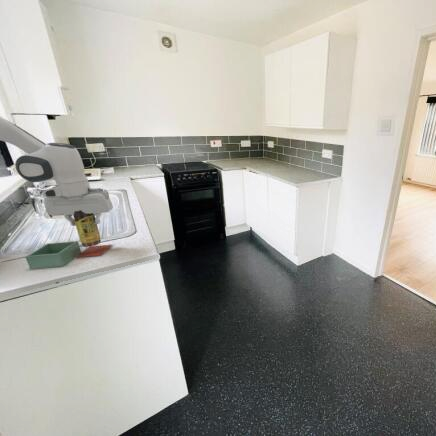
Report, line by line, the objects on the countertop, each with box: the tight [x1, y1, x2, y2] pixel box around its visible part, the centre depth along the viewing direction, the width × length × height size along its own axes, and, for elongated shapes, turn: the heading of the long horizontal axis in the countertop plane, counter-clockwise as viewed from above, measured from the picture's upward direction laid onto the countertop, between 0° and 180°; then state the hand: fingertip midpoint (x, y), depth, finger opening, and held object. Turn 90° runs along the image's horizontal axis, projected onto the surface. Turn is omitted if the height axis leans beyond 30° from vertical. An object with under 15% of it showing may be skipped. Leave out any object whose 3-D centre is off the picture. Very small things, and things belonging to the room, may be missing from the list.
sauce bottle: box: [72, 210, 102, 248], centre depth 93 cm, size 7×6×20 cm
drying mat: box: [76, 244, 112, 259], centre depth 98 cm, size 8×9×1 cm
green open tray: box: [24, 240, 82, 270], centre depth 91 cm, size 10×11×5 cm
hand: (86, 224), depth 94 cm, fingers closed on sauce bottle, 6 cm apart
